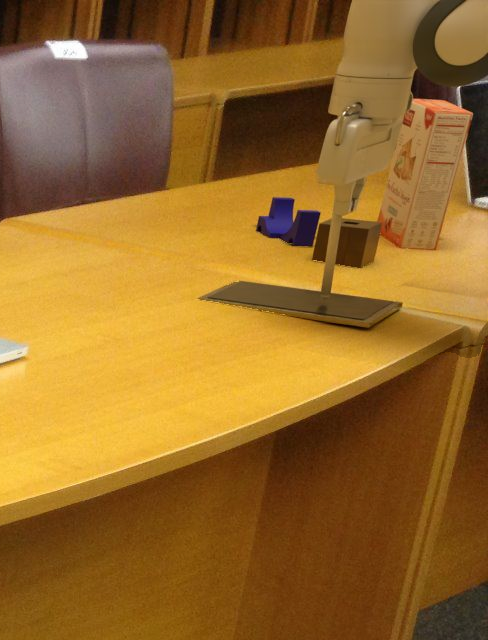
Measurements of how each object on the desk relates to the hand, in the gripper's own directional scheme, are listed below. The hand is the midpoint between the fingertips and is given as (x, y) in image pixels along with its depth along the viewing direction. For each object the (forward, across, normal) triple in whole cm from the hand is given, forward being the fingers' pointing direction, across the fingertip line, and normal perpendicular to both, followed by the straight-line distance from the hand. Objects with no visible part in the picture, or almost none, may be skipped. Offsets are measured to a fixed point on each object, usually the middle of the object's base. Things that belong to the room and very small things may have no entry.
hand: (344, 213), depth 198 cm
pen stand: (+12, +33, +7) cm, 36 cm away
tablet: (+12, 0, +3) cm, 13 cm away
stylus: (+11, 0, 0) cm, 11 cm away
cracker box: (+12, +57, +5) cm, 58 cm away
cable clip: (+12, +43, +19) cm, 49 cm away
